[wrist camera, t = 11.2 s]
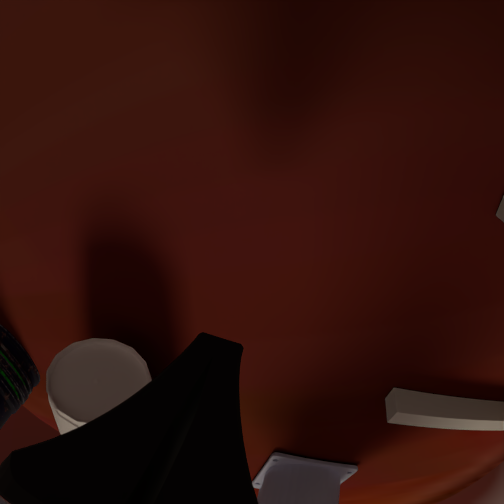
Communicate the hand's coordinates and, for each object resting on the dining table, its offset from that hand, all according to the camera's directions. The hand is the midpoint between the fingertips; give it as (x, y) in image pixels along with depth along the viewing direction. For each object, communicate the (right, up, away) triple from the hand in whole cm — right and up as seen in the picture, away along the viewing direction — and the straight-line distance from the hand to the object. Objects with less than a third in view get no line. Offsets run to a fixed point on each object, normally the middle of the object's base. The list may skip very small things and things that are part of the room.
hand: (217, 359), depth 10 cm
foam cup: (-8, -3, +5) cm, 10 cm away
